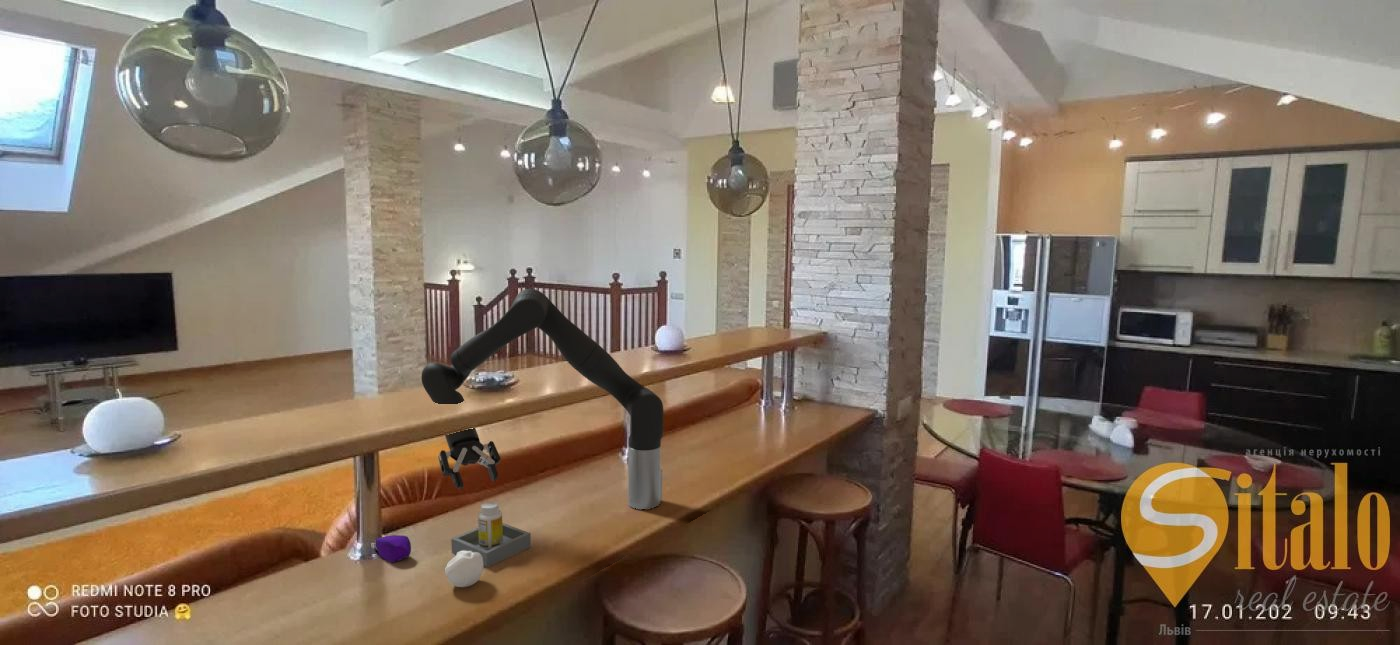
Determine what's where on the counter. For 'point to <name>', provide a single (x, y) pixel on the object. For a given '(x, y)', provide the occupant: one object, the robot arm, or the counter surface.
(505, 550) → the tray
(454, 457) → the robot arm
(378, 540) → the crystal
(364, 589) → the counter surface
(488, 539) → the supplement bottle
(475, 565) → the white swirled ball
